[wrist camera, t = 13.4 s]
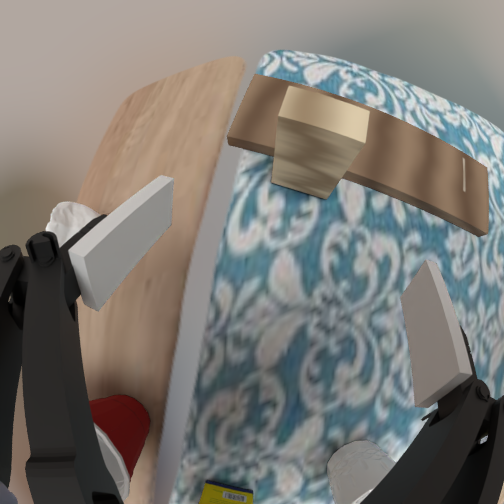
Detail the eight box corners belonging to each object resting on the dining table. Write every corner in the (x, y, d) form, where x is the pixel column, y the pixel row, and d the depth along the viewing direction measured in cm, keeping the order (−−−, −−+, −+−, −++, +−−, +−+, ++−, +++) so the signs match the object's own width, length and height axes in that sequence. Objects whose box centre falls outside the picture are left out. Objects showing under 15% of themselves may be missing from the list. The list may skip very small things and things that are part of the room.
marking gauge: (344, 119, 30) (375, 50, 18) (326, 199, 28) (365, 143, 16) (296, 104, 30) (309, 30, 18) (271, 182, 29) (278, 115, 17)
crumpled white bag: (22, 198, 17) (68, 178, 17) (90, 228, 29) (130, 217, 29) (21, 269, 16) (68, 255, 16) (94, 279, 28) (135, 270, 28)
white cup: (321, 443, 25) (344, 494, 15) (386, 428, 25) (425, 468, 15) (320, 489, 24) (337, 540, 14) (380, 475, 24) (410, 517, 14)
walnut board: (479, 172, 29) (487, 167, 27) (478, 236, 28) (488, 233, 26) (255, 83, 31) (254, 73, 29) (228, 145, 30) (226, 135, 28)
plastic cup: (121, 353, 27) (54, 380, 15) (190, 425, 26) (155, 487, 14) (75, 400, 26) (14, 431, 14) (134, 463, 25) (92, 516, 13)
